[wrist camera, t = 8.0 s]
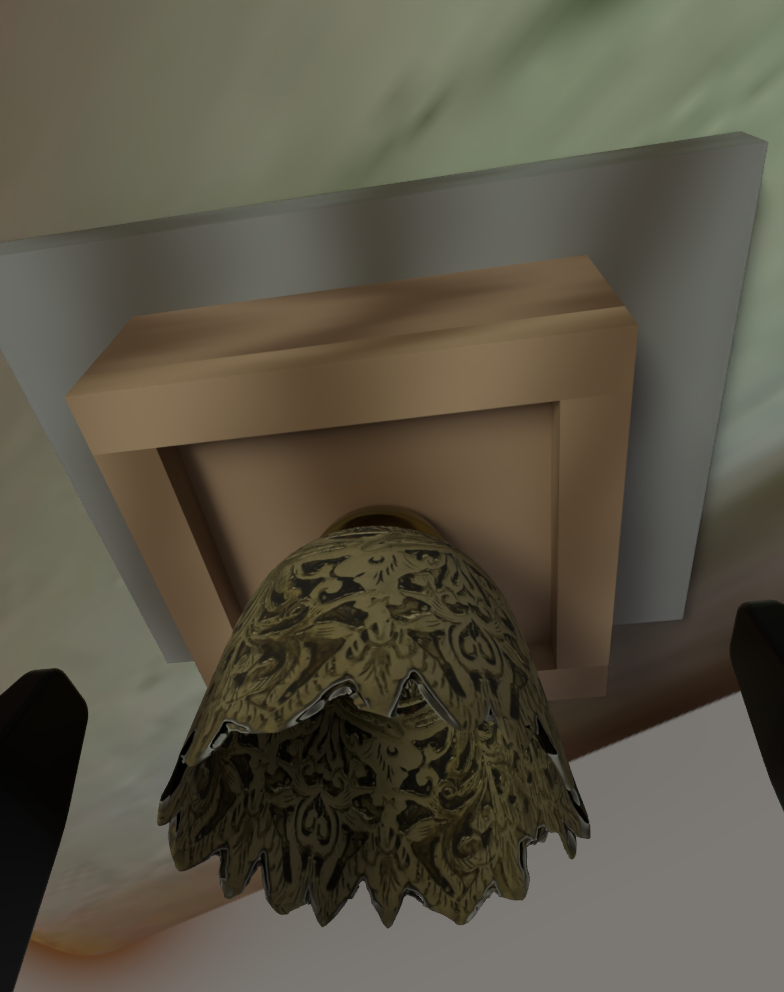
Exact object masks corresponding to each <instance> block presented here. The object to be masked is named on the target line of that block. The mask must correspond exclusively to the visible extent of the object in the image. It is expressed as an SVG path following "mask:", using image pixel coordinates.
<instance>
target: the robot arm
mask: <svg viewBox="0 0 784 992" xmlns="http://www.w3.org/2000/svg"><path fill="white" fill-rule="evenodd" d="M730 658H731V662H732V666H733V669H734V672H735V675H736V678H737V681H738V684H739V687H740V690H741V693H742V696H743V700H744V703H745V706H746V708H747V712H748V715H749V718H750V721H751V724H752V727H753V730H754V733H755V736H756V739H757V742H758V745H759V749H760V752H761V755H762V757H763V761H764V764H765V767H766V769H767V772H768V775H769V778H770V781H771V783H772V786H773V788H774V790H775V793H776V795H777V797H778V800H779V802H780V804H781V806H782V809H783V811H784V604H782V603H780V602H778V601H775V600H763V601H753V602H745V603H742V604H741V605H740V606H739V608H738V610H737V614H736V619H735V624H734V628H733V633H732V638H731V642H730ZM87 722H88V708H87V704H86V702H85V700H84V699H83V697H82V696H81V694H80V693H79V692H78V690H77V689H76V688H75V686H74V685H73V684H72V682H71V681H70V680H69V678H68V677H67V675H66V674H65V673H64V672H63V671H62V670H60V669H57V668H51V669H40V670H33V671H30V672H28V673H26V674H24V675H23V676H22V677H21V678H20V679H18V680H17V681H16V682H15V683H14V684H13V685H12V686H10V687H9V688H8V689H7V690H6V691H5V692H4V693H3V694H1V695H0V992H13V991H14V988H15V985H16V982H17V978H18V975H19V972H20V969H21V966H22V963H23V959H24V956H25V953H26V950H27V947H28V943H29V940H30V937H31V934H32V931H33V928H34V924H35V921H36V918H37V915H38V912H39V909H40V905H41V902H42V899H43V896H44V893H45V890H46V886H47V883H48V880H49V877H50V874H51V871H52V867H53V864H54V861H55V858H56V855H57V851H58V848H59V845H60V842H61V838H62V835H63V831H64V828H65V824H66V820H67V816H68V812H69V807H70V802H71V798H72V793H73V788H74V783H75V779H76V774H77V769H78V764H79V760H80V755H81V750H82V745H83V741H84V736H85V731H86V726H87Z"/></svg>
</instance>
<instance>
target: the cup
mask: <svg viewBox="0 0 784 992" xmlns="http://www.w3.org/2000/svg"><path fill="white" fill-rule="evenodd" d="M169 822H170V824H169V831H168V839H169V846H170V851H171V855H172V857H173V860H174V862H175V866H176V868H177V869H178V871H186V870H188V869H190V868H193V867H195V866H196V865H198V864H200V863H202V862H204V861H206V860H208V859H209V858H210V857H211V856H213V855H218V856H219V857H220V856H221V858H220V862H221V864H220V869H219V876H220V886H221V888H222V890H223V892H224V897H225V898H227V899H231V898H233V897H235V896H237V895H239V894H241V893H242V892H243V890H244V888H245V887H246V886H247V885H248V884H249V882H250V880H251V877H252V875H253V874H254V873H255V872H256V870H257V868H258V867H259V866H261V873H262V881H263V886H264V891H265V896H266V900H267V901H268V902H269V904H270V905H271V907H272V908H273V909H274V910H275V911H276V912H277V913H279V914H281V915H283V914H288V913H289V912H290V911H292V910H294V909H296V908H299V907H300V906H303V905H305V904H307V902H308V905H309V904H311V905H312V908H313V911H314V913H315V916H316V918H317V921H318V922H319V924H320V925H321V926H322V927H324V926H326V925H327V924H328V923H329V922H330V921H331V920H332V919H333V918H334V917H335V916H336V915H337V914H338V913H339V912H340V910H341V909H342V908H343V906H344V905H345V903H346V902H347V900H348V899H352V898H353V897H354V895H355V893H356V892H357V889H358V888H359V886H358V885H359V884H360V882H361V881H365V883H366V887H367V890H368V891H369V894H370V897H371V903H372V904H373V906H374V907H375V909H376V911H377V912H378V914H379V916H380V918H381V921H382V922H383V924H384V925H385V926H386V927H387V928H390V927H391V926H392V924H393V922H394V920H395V918H396V916H397V914H398V912H399V909H400V907H401V904H402V901H403V898H404V897H405V896H406V895H409V896H412V897H414V898H416V899H417V900H418V901H419V902H421V903H422V904H423V906H425V907H427V908H429V909H430V910H432V911H435V912H438V913H440V914H442V915H444V916H446V917H448V918H449V919H451V920H452V921H454V922H455V923H456V924H458V925H464V924H466V923H468V922H469V921H470V920H471V919H472V918H473V917H474V916H475V915H476V913H477V912H478V910H479V909H480V907H481V906H482V905H483V903H484V902H485V900H486V899H487V898H490V897H491V895H492V893H493V892H495V893H496V894H498V895H499V897H503V898H507V899H511V900H523V899H524V898H525V897H526V894H527V891H528V887H529V882H530V877H529V873H528V869H527V847H528V846H529V845H532V844H534V845H535V844H536V843H537V842H542V843H544V842H545V841H546V838H547V835H548V832H550V833H553V832H557V833H558V834H559V836H560V838H561V841H562V843H563V846H564V849H565V850H566V852H567V854H568V856H569V858H570V859H574V857H575V854H576V845H577V844H576V836H577V837H580V838H586V839H589V838H590V824H589V820H588V815H587V812H586V810H585V807H584V804H583V802H582V799H581V797H580V794H579V791H578V789H577V786H576V783H575V780H574V778H573V775H572V772H571V769H570V766H569V763H568V760H567V757H566V754H565V751H564V748H563V745H562V742H561V739H560V736H559V733H558V730H557V727H556V724H555V721H554V718H553V715H552V713H551V710H550V707H549V704H548V701H547V698H546V695H545V692H544V690H543V687H542V684H541V681H540V678H539V676H538V673H537V670H536V667H535V665H534V662H533V659H532V656H531V654H530V651H529V648H528V646H527V643H526V641H525V638H524V636H523V633H522V631H521V628H520V626H519V624H518V622H517V620H516V618H515V615H514V613H513V611H512V610H511V608H510V606H509V604H508V602H507V601H506V599H505V597H504V596H503V594H502V592H501V591H500V589H499V588H498V586H497V585H496V584H495V582H494V581H493V580H492V579H491V577H490V576H489V575H488V574H487V573H486V572H485V571H484V570H483V569H482V568H481V567H480V566H479V565H478V564H477V563H476V562H475V561H474V560H473V559H471V558H470V557H469V556H467V555H466V554H465V553H463V552H462V551H460V550H459V549H457V548H455V547H454V546H452V545H451V544H449V543H447V542H445V540H444V539H443V537H442V536H441V535H440V533H439V532H438V531H437V530H436V528H435V527H434V526H433V525H432V524H431V523H430V522H428V521H427V520H426V519H425V518H423V517H421V516H420V515H418V514H416V513H414V512H412V511H410V510H407V509H404V508H400V507H396V506H389V505H373V506H366V507H362V508H358V509H355V510H353V511H350V512H348V513H346V514H344V515H342V516H341V517H339V518H338V519H337V520H335V521H334V522H333V523H332V524H331V525H330V526H329V527H328V528H327V529H326V530H325V531H324V532H323V533H322V535H321V536H320V538H318V539H316V540H314V541H312V542H310V543H308V544H306V545H304V546H302V547H301V548H299V549H297V550H296V551H294V552H293V553H291V554H290V555H289V556H287V557H286V558H285V559H284V560H283V561H282V562H280V563H279V564H278V565H277V566H276V567H275V568H274V569H273V570H272V571H271V572H270V573H269V574H268V575H267V577H266V578H265V579H264V580H263V581H262V583H261V584H260V586H259V587H258V589H257V590H256V591H255V593H254V594H253V596H252V597H251V599H250V600H249V602H248V603H247V605H246V607H245V609H244V610H243V612H242V614H241V616H240V618H239V620H238V622H237V624H236V626H235V628H234V630H233V632H232V634H231V636H230V638H229V641H228V643H227V645H226V647H225V649H224V651H223V653H222V656H221V658H220V660H219V663H218V665H217V667H216V669H215V672H214V674H213V676H212V679H211V681H210V683H209V686H208V688H207V690H206V693H205V695H204V697H203V700H202V702H201V704H200V707H199V709H198V711H197V714H196V716H195V719H194V721H193V723H192V726H191V728H190V730H189V733H188V735H187V738H186V740H185V742H184V745H183V747H182V750H181V752H180V755H179V758H178V761H177V764H176V766H175V769H174V771H173V774H172V776H171V778H170V781H169V783H168V785H167V786H166V788H165V790H164V792H163V794H162V796H161V799H160V803H159V809H158V817H157V823H158V825H159V826H162V825H165V824H167V823H169ZM546 830H547V831H546ZM536 839H537V840H536ZM532 840H533V841H532ZM530 841H531V842H530ZM529 842H530V843H529ZM528 843H529V844H528ZM527 844H528V845H527ZM220 852H221V854H220ZM259 858H261V860H259ZM416 894H417V895H419V896H420V897H421V898H422V899H423V901H424V902H423V901H422V899H421V898H420V897H419V896H417V895H416Z"/></svg>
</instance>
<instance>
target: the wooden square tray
mask: <svg viewBox="0 0 784 992" xmlns="http://www.w3.org/2000/svg"><path fill="white" fill-rule="evenodd" d="M767 146H768V142H767V141H765V140H762V139H759V138H757V137H754V136H752V135H749V134H746V133H744V132H734V133H728V134H721V135H714V136H708V137H701V138H694V139H688V140H681V141H674V142H668V143H661V144H654V145H648V146H641V147H634V148H628V149H621V150H614V151H608V152H601V153H594V154H588V155H581V156H574V157H568V158H561V159H554V160H548V161H541V162H534V163H528V164H521V165H514V166H508V167H501V168H495V169H488V170H481V171H475V172H468V173H461V174H455V175H448V176H441V177H435V178H428V179H421V180H415V181H408V182H401V183H395V184H388V185H381V186H375V187H368V188H361V189H355V190H348V191H341V192H335V193H328V194H321V195H315V196H308V197H301V198H295V199H288V200H281V201H275V202H268V203H261V204H255V205H248V206H241V207H235V208H228V209H221V210H215V211H208V212H201V213H195V214H188V215H181V216H175V217H168V218H161V219H155V220H148V221H142V222H135V223H128V224H122V225H115V226H108V227H102V228H95V229H88V230H82V231H75V232H68V233H62V234H55V235H48V236H42V237H35V238H28V239H22V240H15V241H8V242H2V243H0V349H1V351H2V353H3V354H4V356H5V358H6V360H7V362H8V364H9V366H10V368H11V370H12V371H13V373H14V375H15V377H16V379H17V381H18V383H19V385H20V386H21V388H22V390H23V392H24V394H25V396H26V398H27V400H28V402H29V403H30V405H31V407H32V409H33V411H34V413H35V415H36V417H37V418H38V420H39V422H40V424H41V426H42V428H43V430H44V432H45V433H46V435H47V437H48V439H49V441H50V443H51V445H52V447H53V449H54V450H55V452H56V454H57V456H58V458H59V460H60V462H61V464H62V465H63V467H64V469H65V471H66V473H67V475H68V477H69V479H70V481H71V482H72V484H73V486H74V488H75V490H76V492H77V494H78V496H79V497H80V499H81V501H82V503H83V505H84V507H85V509H86V511H87V513H88V514H89V516H90V518H91V520H92V522H93V524H94V526H95V528H96V529H97V531H98V533H99V535H100V537H101V539H102V541H103V543H104V544H105V546H106V548H107V550H108V552H109V554H110V556H111V558H112V560H113V561H114V563H115V565H116V567H117V569H118V571H119V573H120V575H121V576H122V578H123V580H124V582H125V584H126V586H127V588H128V590H129V592H130V593H131V595H132V597H133V599H134V601H135V603H136V605H137V607H138V608H139V610H140V612H141V614H142V616H143V618H144V620H145V622H146V624H147V625H148V627H149V629H150V631H151V633H152V635H153V637H154V639H155V640H156V642H157V644H158V646H159V648H160V650H161V652H162V654H163V655H164V657H165V659H166V661H167V663H177V662H189V661H194V662H195V664H196V666H197V668H198V670H199V672H200V674H201V676H202V678H203V680H204V682H205V684H206V686H207V688H208V686H209V683H210V681H211V679H212V676H213V674H214V672H215V669H216V667H217V665H218V663H219V660H220V658H221V656H222V653H223V651H224V649H225V647H226V645H227V643H228V641H229V638H230V636H231V634H232V632H233V630H234V628H235V626H236V624H237V622H238V620H239V618H240V616H241V614H242V612H243V610H244V609H245V607H246V605H247V603H248V602H249V600H250V599H251V597H252V596H253V594H254V593H255V591H256V590H257V589H258V587H259V586H260V584H261V583H262V581H263V580H264V579H265V578H266V577H267V575H268V574H269V573H270V572H271V571H272V570H273V569H274V568H275V567H276V566H277V565H278V564H279V563H280V562H282V561H283V560H284V559H285V558H286V557H287V556H289V555H290V554H291V553H293V552H294V551H296V550H297V549H299V548H301V547H302V546H304V545H306V544H308V543H310V542H312V541H314V540H316V539H318V538H320V536H321V535H322V533H323V532H324V531H325V530H326V529H327V528H328V527H329V526H330V525H331V524H332V523H333V522H334V521H335V520H337V519H338V518H339V517H341V516H342V515H344V514H346V513H348V512H350V511H353V510H355V509H358V508H362V507H366V506H373V505H389V506H396V507H400V508H404V509H407V510H410V511H412V512H414V513H416V514H418V515H420V516H421V517H423V518H425V519H426V520H427V521H428V522H430V523H431V524H432V525H433V526H434V527H435V528H436V530H437V531H438V532H439V533H440V535H441V536H442V537H443V539H444V540H445V542H447V543H449V544H451V545H452V546H454V547H455V548H457V549H459V550H460V551H462V552H463V553H465V554H466V555H467V556H469V557H470V558H471V559H473V560H474V561H475V562H476V563H477V564H478V565H479V566H480V567H481V568H482V569H483V570H484V571H485V572H486V573H487V574H488V575H489V576H490V577H491V579H492V580H493V581H494V582H495V584H496V585H497V586H498V588H499V589H500V591H501V592H502V594H503V596H504V597H505V599H506V601H507V602H508V604H509V606H510V608H511V610H512V611H513V613H514V615H515V618H516V620H517V622H518V624H519V626H520V628H521V631H522V633H523V636H524V638H525V641H526V643H527V646H528V648H529V651H530V654H531V656H532V659H533V662H534V665H535V667H536V670H537V673H538V676H539V678H540V681H541V684H542V687H543V690H544V692H545V695H546V698H547V701H557V700H570V699H583V698H596V697H606V690H607V679H608V667H609V656H610V644H611V633H612V625H622V624H634V623H646V622H658V621H669V620H681V619H683V614H684V608H685V603H686V597H687V592H688V586H689V581H690V575H691V569H692V564H693V558H694V553H695V547H696V542H697V536H698V530H699V525H700V519H701V514H702V508H703V503H704V497H705V491H706V486H707V480H708V475H709V469H710V464H711V458H712V452H713V447H714V441H715V436H716V430H717V425H718V419H719V413H720V408H721V402H722V397H723V391H724V386H725V380H726V374H727V369H728V363H729V358H730V352H731V347H732V341H733V335H734V330H735V324H736V319H737V313H738V308H739V302H740V296H741V291H742V285H743V280H744V274H745V269H746V263H747V257H748V252H749V246H750V241H751V235H752V230H753V224H754V218H755V213H756V207H757V202H758V196H759V191H760V185H761V179H762V174H763V168H764V163H765V157H766V152H767Z"/></svg>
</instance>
